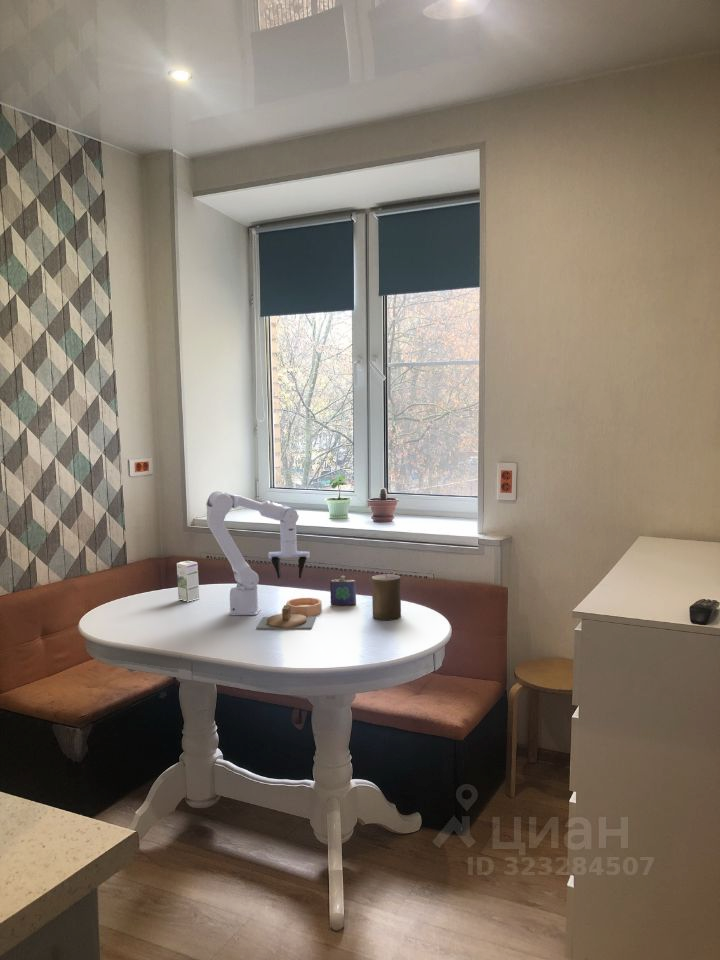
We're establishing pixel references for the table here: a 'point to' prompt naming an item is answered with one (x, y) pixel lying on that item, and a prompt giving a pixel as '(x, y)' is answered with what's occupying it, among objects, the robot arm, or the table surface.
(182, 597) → the syrup box
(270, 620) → the lid
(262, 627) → the mat
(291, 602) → the bowl
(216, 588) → the table surface
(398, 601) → the pillar candle
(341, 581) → the flask
